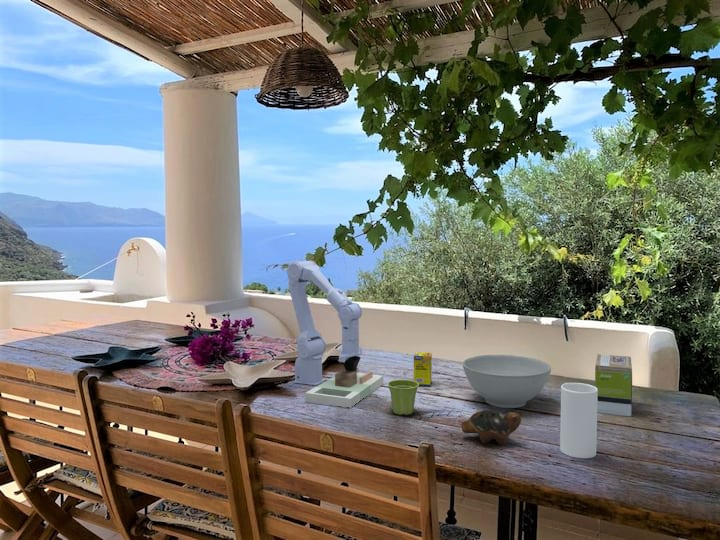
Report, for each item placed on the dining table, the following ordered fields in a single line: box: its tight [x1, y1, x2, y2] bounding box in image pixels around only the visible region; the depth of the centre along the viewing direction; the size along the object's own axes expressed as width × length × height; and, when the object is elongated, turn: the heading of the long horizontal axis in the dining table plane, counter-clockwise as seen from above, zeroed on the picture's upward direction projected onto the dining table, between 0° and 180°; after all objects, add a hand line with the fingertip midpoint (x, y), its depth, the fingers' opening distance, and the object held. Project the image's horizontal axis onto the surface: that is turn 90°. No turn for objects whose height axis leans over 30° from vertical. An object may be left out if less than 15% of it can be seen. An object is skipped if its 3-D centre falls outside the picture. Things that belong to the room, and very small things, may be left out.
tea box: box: [594, 353, 633, 417], centre depth 162 cm, size 15×10×15 cm, turn 154°
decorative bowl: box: [462, 354, 552, 409], centre depth 168 cm, size 27×27×12 cm
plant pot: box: [387, 379, 420, 416], centre depth 160 cm, size 9×9×9 cm
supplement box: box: [413, 351, 433, 388], centre depth 188 cm, size 6×6×11 cm
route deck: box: [304, 370, 385, 409], centre depth 179 cm, size 16×28×5 cm, turn 156°
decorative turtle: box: [460, 409, 522, 446], centre depth 137 cm, size 10×15×8 cm, turn 80°
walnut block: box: [334, 369, 358, 387], centre depth 178 cm, size 6×6×4 cm
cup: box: [559, 382, 598, 459], centre depth 130 cm, size 8×8×16 cm
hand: (350, 378), depth 183 cm, fingers closed
